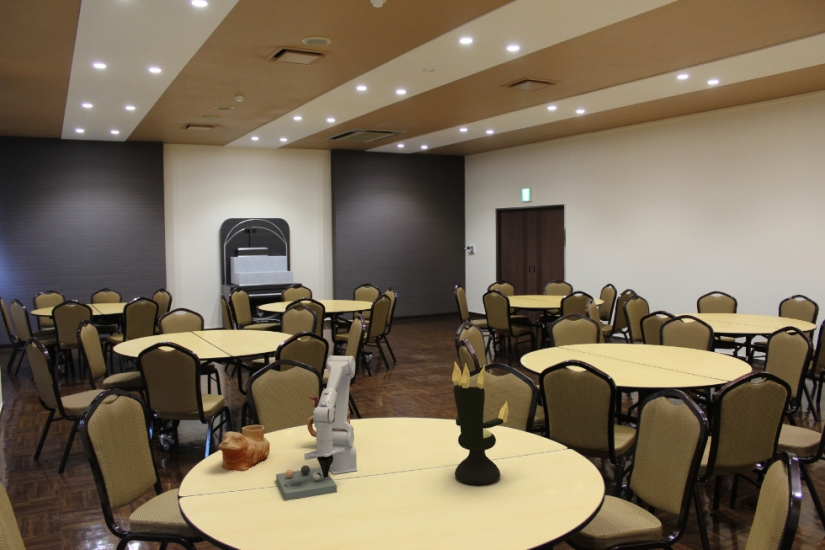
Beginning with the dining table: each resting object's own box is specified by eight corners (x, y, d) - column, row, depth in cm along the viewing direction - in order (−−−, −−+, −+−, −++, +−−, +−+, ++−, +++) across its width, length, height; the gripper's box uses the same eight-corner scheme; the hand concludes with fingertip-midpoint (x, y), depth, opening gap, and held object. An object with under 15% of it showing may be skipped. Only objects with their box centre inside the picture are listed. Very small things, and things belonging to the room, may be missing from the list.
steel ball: (320, 478, 237) (320, 470, 237) (322, 481, 234) (322, 472, 234) (311, 480, 236) (311, 471, 235) (313, 483, 233) (313, 474, 232)
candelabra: (510, 473, 245) (508, 354, 242) (492, 494, 225) (490, 365, 222) (463, 466, 253) (461, 351, 250) (441, 487, 233) (438, 362, 230)
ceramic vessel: (209, 472, 253) (207, 434, 252) (250, 451, 277) (248, 416, 276) (238, 476, 248) (237, 438, 247) (277, 454, 272) (276, 419, 271)
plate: (323, 473, 249) (323, 467, 249) (336, 492, 230) (336, 485, 230) (276, 480, 242) (276, 474, 242) (285, 500, 224) (285, 493, 224)
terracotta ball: (293, 475, 240) (292, 467, 240) (294, 478, 237) (294, 470, 237) (284, 477, 239) (284, 469, 239) (286, 480, 236) (286, 471, 236)
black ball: (309, 472, 243) (308, 463, 243) (311, 475, 240) (310, 466, 240) (300, 473, 242) (299, 464, 242) (301, 476, 239) (301, 467, 239)
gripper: (306, 445, 229) (308, 483, 229) (346, 439, 234) (347, 477, 235) (302, 439, 235) (303, 476, 236) (341, 434, 240) (342, 470, 241)
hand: (325, 476), depth 236 cm, fingers closed
